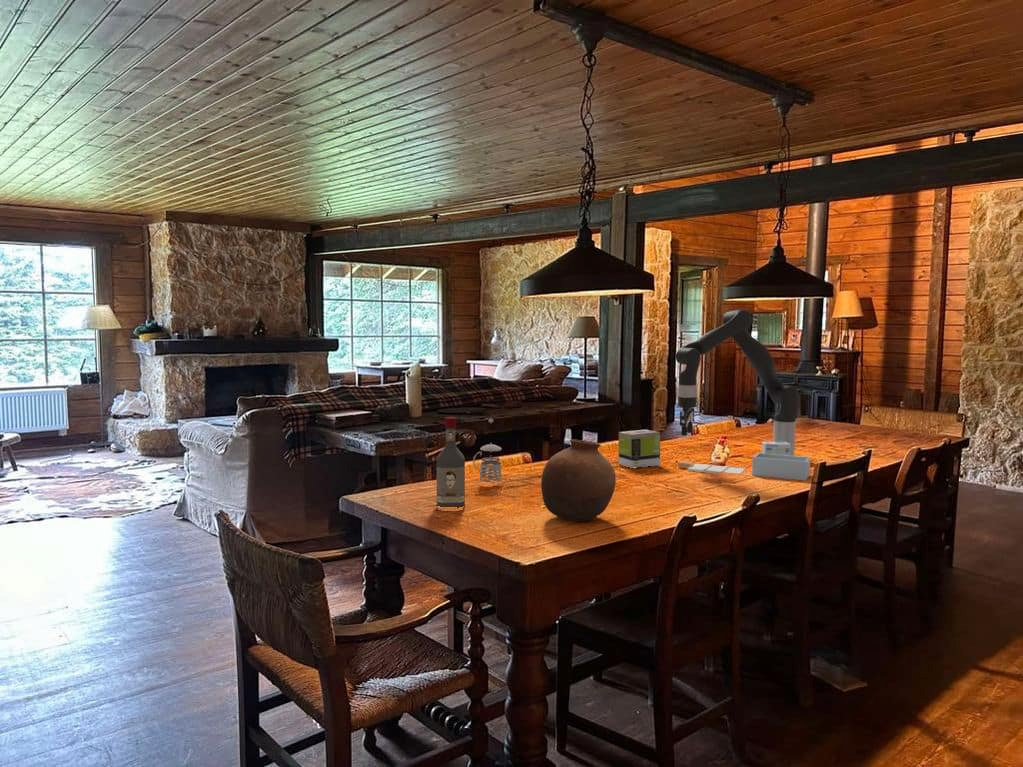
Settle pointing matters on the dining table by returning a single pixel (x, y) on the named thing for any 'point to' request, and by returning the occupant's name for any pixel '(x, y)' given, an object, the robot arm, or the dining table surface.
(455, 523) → the dining table surface
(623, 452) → the tea box
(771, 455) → the tub
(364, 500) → the dining table surface
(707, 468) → the lid
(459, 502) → the liquor
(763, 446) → the light bulb box
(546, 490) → the pottery
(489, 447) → the french press
